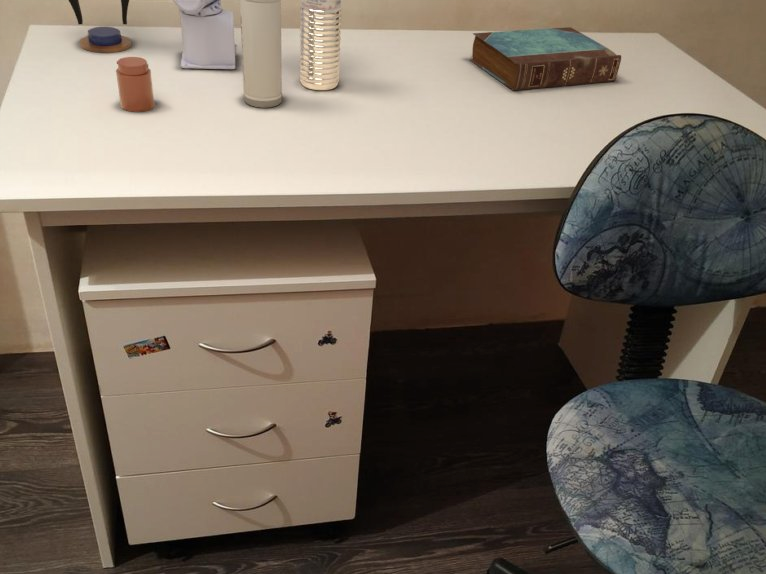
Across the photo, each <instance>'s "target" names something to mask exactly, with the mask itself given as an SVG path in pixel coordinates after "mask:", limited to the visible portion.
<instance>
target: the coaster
mask: <svg viewBox="0 0 766 574" xmlns="http://www.w3.org/2000/svg"><path fill="white" fill-rule="evenodd" d="M121 38H122V41H121V43H119V44H117V45H113V46H98V45H94V44H91V43H90V42H89V39H88V35H87V36H83V37H82V38H81V39H80V40H79V45H80V48H82V49H83V50H86V51H87V52H88V51H89V52H93V53H100V54H101V53H102V54H105V53H106V54H108V53H119V52H123V51H126V50H128V49H129V48H131V47H132V40H131V39H130V38H129V37H127V36H125V35H122V34H121Z"/></svg>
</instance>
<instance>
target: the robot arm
mask: <svg viewBox="0 0 766 574" xmlns="http://www.w3.org/2000/svg"><path fill="white" fill-rule="evenodd" d="M172 1H173V2H174V4H175V5H176V6H177V8H178V10H179V11H178V12H179V19H180V29H181V38H182V39H181V42H182V52H181V60H180V68H182V69H201V70H202V69H207V70H208V69H209V70H235V69H236V56H237V55H238V49H237V48H238V46H237V44H236V43H235V24H234V11H233V10H227V9H226V10H225V9H223V8H222V0H172ZM68 2H69V4H70V6H71V8H72V10H73V13H74V14H75V18H76V21H77V25H83V24H84V22H83V20H84V19H83V14H82V10H81V6H80V1H79V0H68ZM129 3H130V0H120V4H121V19H122V25H128V9H129V5H130V4H129Z"/></svg>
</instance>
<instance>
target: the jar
mask: <svg viewBox="0 0 766 574" xmlns="http://www.w3.org/2000/svg"><path fill="white" fill-rule="evenodd" d="M116 65H117V68H116V70H115V74H116V82H117V88H118V95H119V103H120V108H122V109H123V110H124V111H127V112H131V113H142V112H148V111H151V110H153V109H154V108H155V106H156V104H155V96H154V87H153V80H152V79H153V78H152V70H151V69H150V68H149V63H148V61H147V59H146V58H143V57H139V56H126V57H122V58H119V59H118V60H117V61H116Z"/></svg>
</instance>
